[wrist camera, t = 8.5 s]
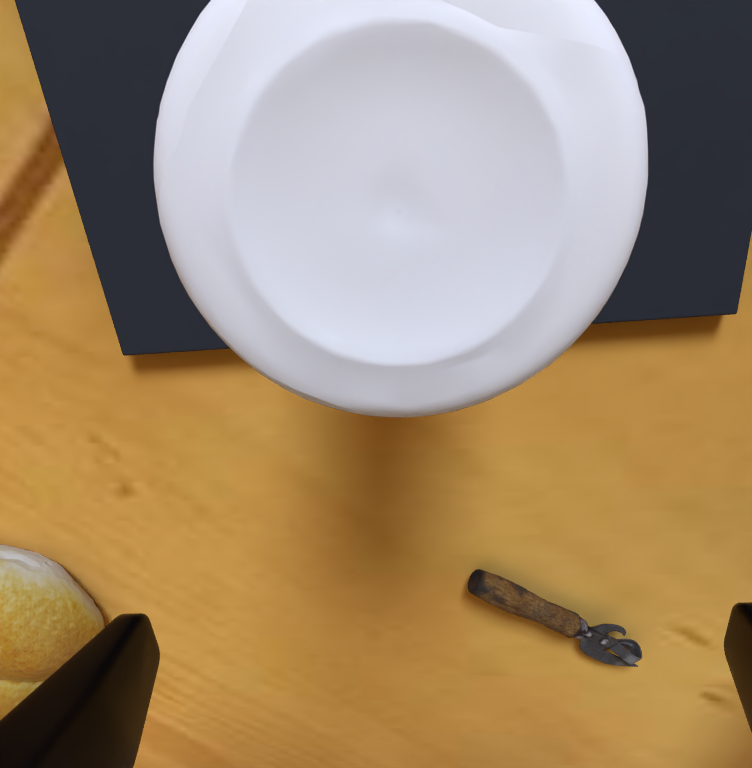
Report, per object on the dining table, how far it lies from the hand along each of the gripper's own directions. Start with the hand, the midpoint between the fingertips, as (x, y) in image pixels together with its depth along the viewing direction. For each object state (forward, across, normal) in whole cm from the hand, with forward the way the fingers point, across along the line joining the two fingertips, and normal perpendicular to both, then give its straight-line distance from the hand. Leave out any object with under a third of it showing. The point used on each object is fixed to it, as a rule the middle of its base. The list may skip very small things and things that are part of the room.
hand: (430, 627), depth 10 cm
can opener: (+13, -5, +14) cm, 20 cm away
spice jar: (+12, 0, -7) cm, 14 cm away
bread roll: (+13, +19, +13) cm, 26 cm away
